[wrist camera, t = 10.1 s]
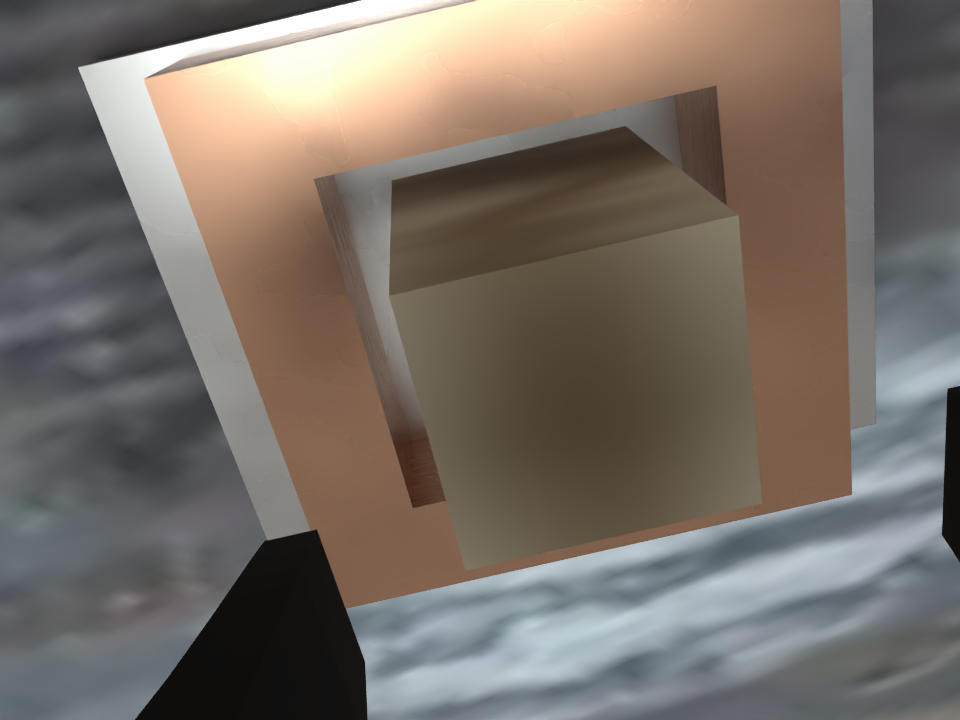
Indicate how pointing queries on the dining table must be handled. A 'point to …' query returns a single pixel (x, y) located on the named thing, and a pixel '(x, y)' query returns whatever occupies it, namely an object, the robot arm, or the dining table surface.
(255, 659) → the robot arm
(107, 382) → the dining table surface
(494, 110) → the orange-brown socket block
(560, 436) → the birch block
